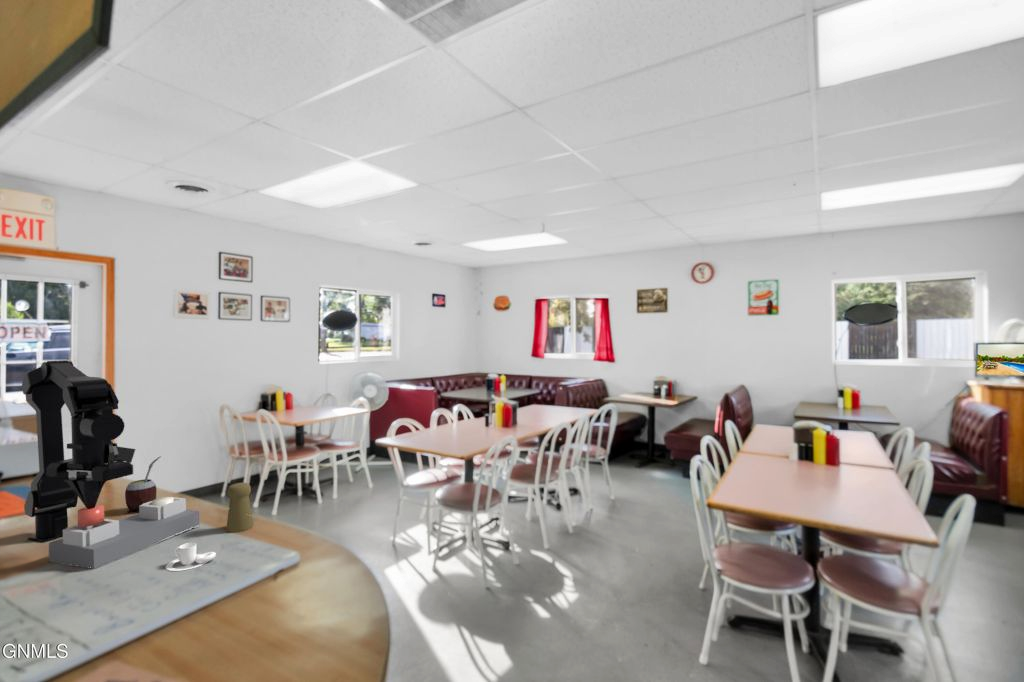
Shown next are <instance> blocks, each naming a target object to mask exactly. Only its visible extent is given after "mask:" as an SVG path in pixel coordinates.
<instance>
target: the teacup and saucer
mask: <svg viewBox="0 0 1024 682" xmlns="http://www.w3.org/2000/svg"><path fill="white" fill-rule="evenodd" d="M177 550H178V552H179V553H178V552H177ZM173 553H174V555H175V558H176V559H173V560H171V561H170V562H169V563H167V564H166V565H165V569H166V570H167V571H169V572H182V571H188V570H192V569H195V568H199V567H200V566H203V565H205V564H207V563H209V562H211V561H212V560H214V559H215V558H216V556H217V553H216V552H215V551H208V552H205V553H197V542H186V543H183V544H181V545H179V546H177V547H176V548H175V549H174V551H173ZM178 554H179V555H178ZM179 561H180V563H181V565H182V566H189V565H193V564H194V562H196V563H197V564H196V565H193V566H189V567H185V568H174V567H173V566H174V565H175V563H178V562H179Z"/></svg>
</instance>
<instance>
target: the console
mask: <svg viewBox="0 0 1024 682" xmlns="http://www.w3.org/2000/svg"><path fill="white" fill-rule="evenodd" d="M172 497H173V498H174V502H171V503H168V504H165V505H162V506H155V505H152V501H150V502H147V503H144V504H142V505H140V506H139V511H138V513H135V514H131V515H128V516H126V517H123V518H120V519H110V518H104V522H102V523H100V524H97V525H93V526H87V527H79V526H78V523H77V524H75V525H71V526H68V528H67V529H64V530H63V536H62V538H59V539H56V540H53V541H49V542H48V562H51V563H58V564H62V563H64V564H63V565H68V564H72V565H71V566H74V565H78V566H77V567H79V566H83V567H82V568H85V567H89V568H88V569H91V568H95V569H97V567H98V568H100V567H102V565H103V566H105V565H107V563H108V564H110V563H113V562H115V561H117V559H118V560H120V559H123V558H125V557H127V556H131V555H133V554H136V553H137V552H140V551H142V550H145V549H147V547H148V546H150V545H153V544H155V543H157V542H159V541H161V540H163V539H165V538H167V537H169V536H172V535H175V534H176V533H179V532H181V531H184V530H186V529H189V528H191V527H195V526H197V525H199V526H200V510H195V509H187V501H186V500H187V499H186V498H185V497H178V496H177V497H176V496H175V497H174V496H172ZM155 545H156V544H155ZM153 546H154V545H153ZM150 547H151V546H150ZM148 548H149V547H148ZM112 561H113V562H112ZM109 562H110V563H109ZM99 566H100V567H99ZM90 567H91V568H90Z"/></svg>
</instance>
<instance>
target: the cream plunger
mask: <svg viewBox="0 0 1024 682" xmlns="http://www.w3.org/2000/svg"><path fill="white" fill-rule="evenodd" d="M173 497H174V496H165V497H160V498H156V499H155V500H153V501H152V505H155V506H162V505H165V504H168V503H171V502H174V498H173Z"/></svg>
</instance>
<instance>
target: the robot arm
mask: <svg viewBox="0 0 1024 682" xmlns="http://www.w3.org/2000/svg"><path fill="white" fill-rule="evenodd" d="M21 390H22V394H23V395H25V401H26V403H27V404H29V406H30V407H31V408H32V409H33V410H34V411H35V416H36V417H35V419H36V436H37V452H38V454H37V455H38V469H39V470H38V472H37V473H36V476H35V477H34V479H33V480H32V481H31V483H30V491H29V492H28V494H27V497H26V499H25V501H24V502H25V503H24V505H23V508H24V514H25V515H26V516H28V517H30V518H34V524H35V534H33V535H30V536H27V540H31V541H37V542H48V541H51V540H54V539H56V538H60V537H63V530H64V529H67V528H68V527H69V516H68V509H70V508H77V505H78V499H80V501H81V502H82V503H83V505H84V506H85V507H86V508H87V509H92V508H95V506H96V505H97V502H98V501H99V500H98V499H99V497H100V494H101V491H102V490H103V488H104V484H105V483H107V481H112V480H117V479H121V478H123V477H127V476H128V477H129V476H131V475H134V464H133V463H132V461H133V458H134V455H135V452H136V449H135V448H130V447H123V446H118V443H117V442H116V443H115V442H113V440H116V439H117V438H119V437H120V436H121V435H122V434H123V432H124V429H125V427H126V426H125V422H124V420H123V418H122V417H121V416H120V415H118V414H116V413H114V410H118V409H119V402H120V400H119V399H118V397H117V394H116V392H115V390H114V388H113V387H112V385H111V383H109V381H107V379H105V378H102V377H98V376H87V374H85V373H84V372H82V371H81V370H79V369H78V368H77V367H76V366H74V364H73V362H72V361H71V360H67V359H66V360H65V359H64V360H47V361H44V362H42V363H41V365H40V366H39V367H38V368H37V367H36V368H35V369H33V370H30V371H29V372H27V373H26V374H25V377H24V378H23V380H22V382H21ZM65 405H66V407H67V410H68V411H69V413H70V417H71V419H70V420H71V421H70V423H71V426H70V427H71V443H66V449H71V458H67V459H65V451H64V450H65V449H64V448H65V447H64V435H63V433H64V432H63V430H64V429H63V416H62V408H63V407H64V406H65ZM85 507H84V508H85Z"/></svg>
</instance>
